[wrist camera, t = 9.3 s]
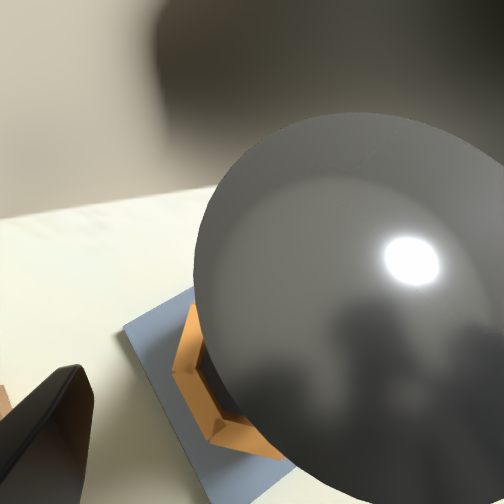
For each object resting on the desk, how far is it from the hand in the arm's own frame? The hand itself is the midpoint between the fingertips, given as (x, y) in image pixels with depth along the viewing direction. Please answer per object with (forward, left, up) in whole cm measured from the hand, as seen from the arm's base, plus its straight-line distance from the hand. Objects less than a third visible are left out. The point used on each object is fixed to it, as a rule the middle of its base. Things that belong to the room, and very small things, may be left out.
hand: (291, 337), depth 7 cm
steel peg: (0, 0, -8) cm, 8 cm away
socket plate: (0, 0, -9) cm, 9 cm away
